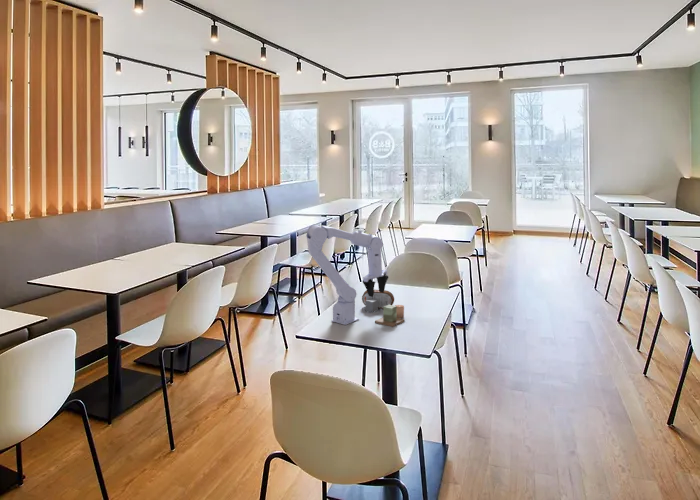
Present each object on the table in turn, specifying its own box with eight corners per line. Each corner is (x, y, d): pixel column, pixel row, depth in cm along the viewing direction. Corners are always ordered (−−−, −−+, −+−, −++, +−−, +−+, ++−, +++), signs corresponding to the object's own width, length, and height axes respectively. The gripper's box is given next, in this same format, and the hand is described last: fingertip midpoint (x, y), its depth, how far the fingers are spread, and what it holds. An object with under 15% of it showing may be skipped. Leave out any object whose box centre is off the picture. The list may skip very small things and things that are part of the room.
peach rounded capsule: (400, 319, 206) (400, 308, 205) (392, 317, 209) (393, 306, 208) (405, 316, 209) (405, 305, 208) (397, 315, 212) (398, 304, 211)
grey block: (372, 312, 216) (372, 302, 215) (365, 311, 218) (365, 300, 217) (377, 310, 219) (377, 300, 218) (370, 308, 221) (370, 298, 220)
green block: (391, 322, 200) (391, 308, 199) (383, 320, 202) (383, 306, 201) (396, 319, 203) (396, 306, 202) (388, 318, 205) (388, 304, 204)
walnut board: (392, 327, 196) (392, 325, 196) (375, 322, 202) (375, 320, 202) (404, 321, 203) (404, 319, 203) (387, 317, 209) (387, 315, 209)
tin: (394, 308, 222) (394, 290, 221) (393, 309, 219) (393, 292, 218) (362, 305, 226) (362, 288, 225) (361, 307, 223) (361, 290, 222)
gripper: (371, 268, 197) (373, 299, 199) (392, 261, 208) (393, 291, 210) (358, 266, 201) (360, 297, 204) (379, 259, 212) (380, 288, 215)
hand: (376, 294), depth 207 cm, fingers open, 7 cm apart
